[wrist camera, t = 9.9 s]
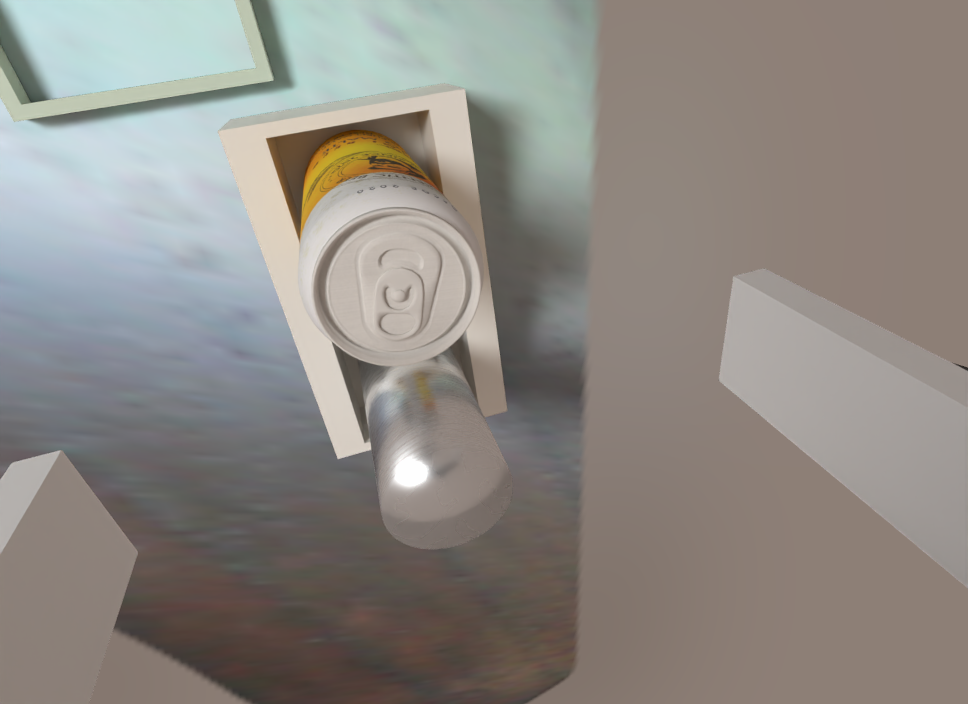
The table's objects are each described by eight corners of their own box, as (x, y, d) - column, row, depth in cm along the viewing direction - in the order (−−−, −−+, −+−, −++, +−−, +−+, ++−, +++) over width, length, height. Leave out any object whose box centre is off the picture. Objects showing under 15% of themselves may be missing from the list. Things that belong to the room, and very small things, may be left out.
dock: (230, 119, 26) (217, 131, 23) (444, 83, 28) (464, 88, 25) (334, 416, 36) (337, 458, 33) (488, 375, 38) (507, 410, 35)
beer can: (421, 134, 29) (506, 202, 16) (413, 243, 31) (480, 374, 19) (302, 121, 27) (293, 186, 14) (305, 238, 30) (299, 379, 17)
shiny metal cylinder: (345, 319, 33) (366, 471, 21) (437, 297, 34) (506, 430, 22) (368, 394, 36) (397, 564, 24) (452, 372, 37) (518, 525, 25)
